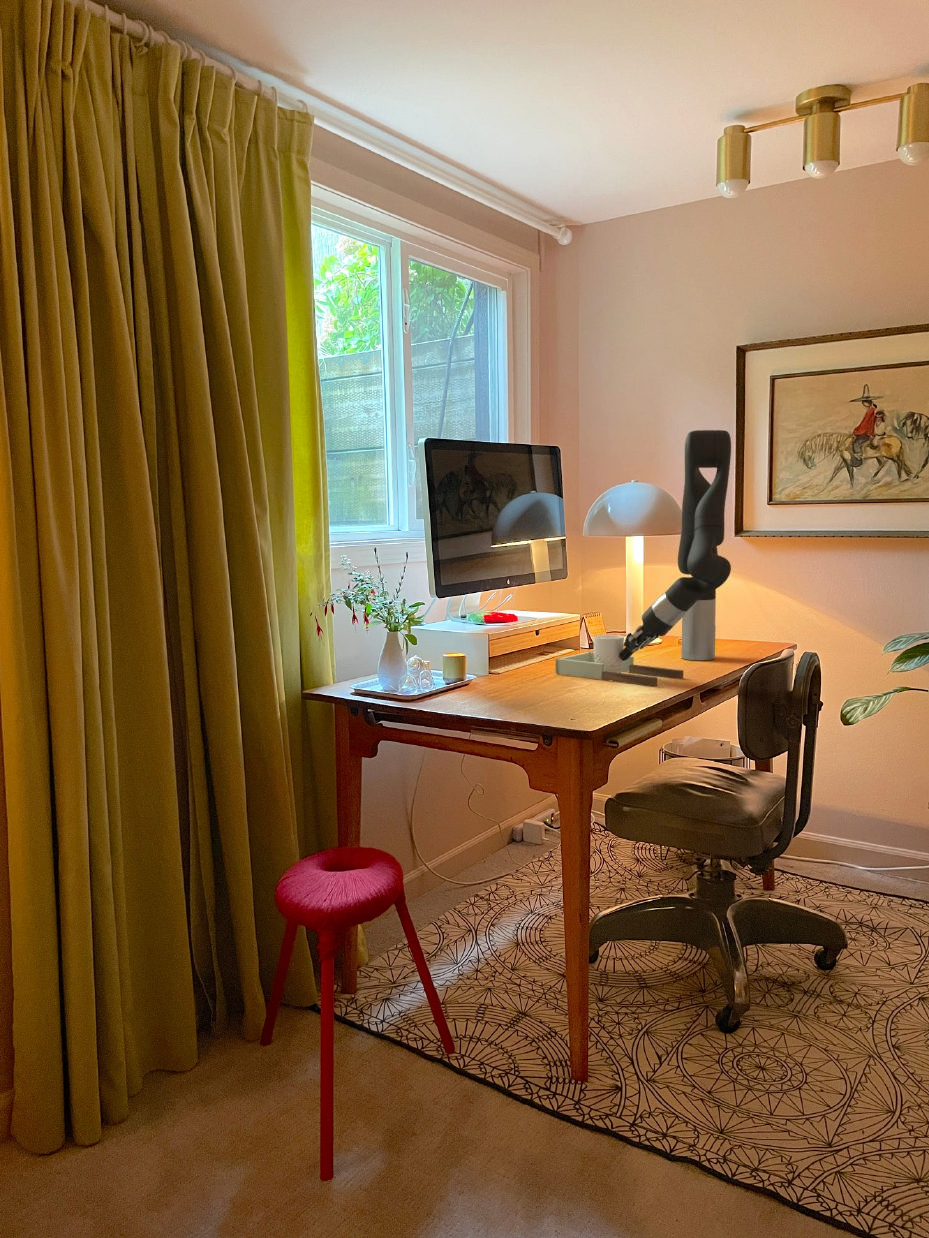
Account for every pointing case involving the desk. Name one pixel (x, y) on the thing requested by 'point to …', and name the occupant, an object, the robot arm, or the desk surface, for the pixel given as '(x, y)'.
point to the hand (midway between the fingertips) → (621, 657)
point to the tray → (585, 666)
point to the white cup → (608, 651)
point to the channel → (645, 671)
